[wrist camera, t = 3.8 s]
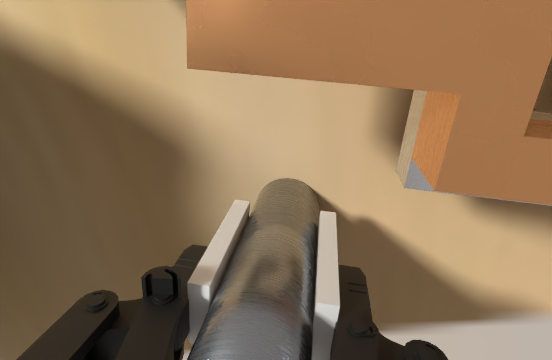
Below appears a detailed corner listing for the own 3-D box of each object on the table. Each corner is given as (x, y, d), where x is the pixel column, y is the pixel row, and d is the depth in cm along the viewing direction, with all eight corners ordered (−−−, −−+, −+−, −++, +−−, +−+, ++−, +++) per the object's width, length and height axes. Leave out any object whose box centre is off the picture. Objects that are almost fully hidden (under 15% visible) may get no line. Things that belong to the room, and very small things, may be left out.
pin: (246, 236, 21) (122, 540, 8) (250, 165, 20) (100, 412, 7) (322, 247, 21) (314, 584, 8) (333, 175, 19) (344, 461, 6)
